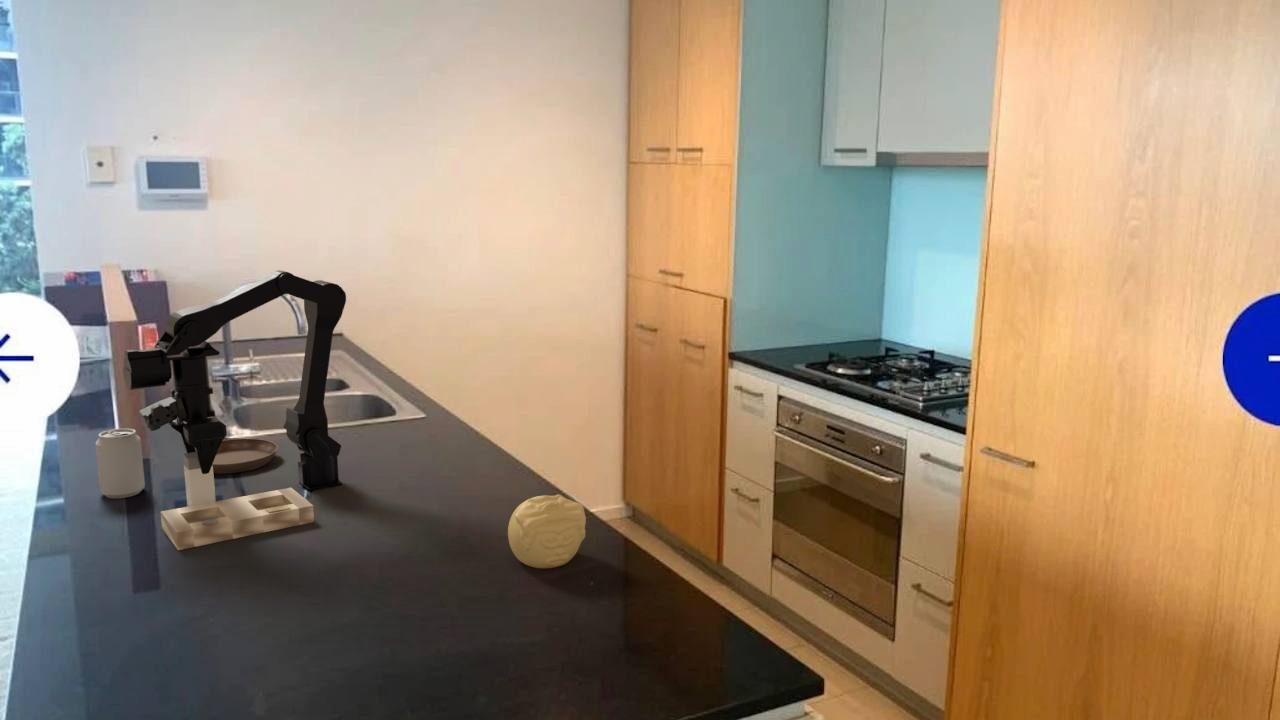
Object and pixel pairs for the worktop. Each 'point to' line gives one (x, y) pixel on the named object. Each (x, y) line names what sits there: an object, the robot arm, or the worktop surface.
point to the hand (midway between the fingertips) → (199, 467)
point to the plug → (197, 481)
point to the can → (120, 463)
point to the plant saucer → (243, 455)
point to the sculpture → (546, 531)
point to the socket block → (235, 518)
